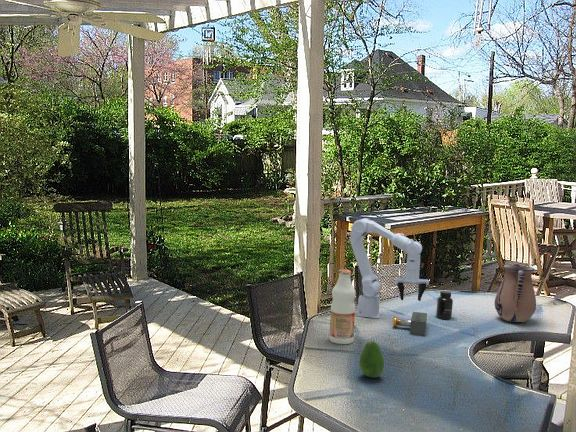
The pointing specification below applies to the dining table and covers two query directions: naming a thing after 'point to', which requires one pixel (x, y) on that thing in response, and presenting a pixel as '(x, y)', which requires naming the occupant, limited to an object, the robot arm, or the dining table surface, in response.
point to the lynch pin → (401, 322)
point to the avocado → (371, 360)
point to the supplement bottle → (444, 306)
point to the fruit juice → (342, 310)
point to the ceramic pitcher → (516, 294)
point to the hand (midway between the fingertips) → (410, 300)
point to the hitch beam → (418, 323)
